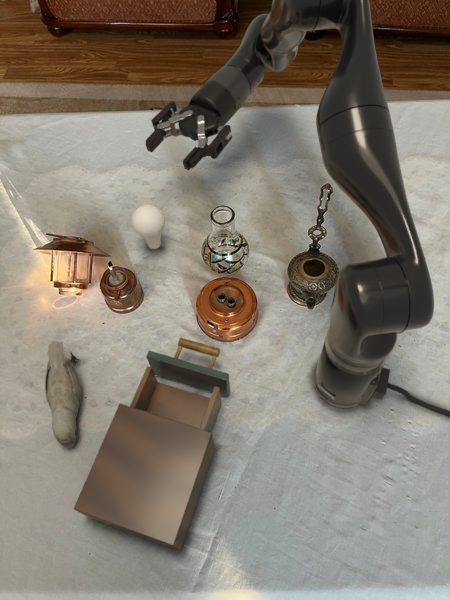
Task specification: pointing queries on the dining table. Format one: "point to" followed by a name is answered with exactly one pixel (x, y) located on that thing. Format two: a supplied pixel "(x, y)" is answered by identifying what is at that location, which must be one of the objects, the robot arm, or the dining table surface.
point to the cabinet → (148, 476)
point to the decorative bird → (62, 393)
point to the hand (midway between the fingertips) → (166, 157)
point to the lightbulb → (149, 224)
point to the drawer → (176, 400)
